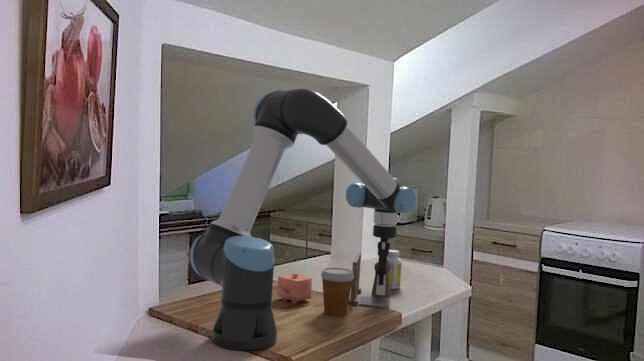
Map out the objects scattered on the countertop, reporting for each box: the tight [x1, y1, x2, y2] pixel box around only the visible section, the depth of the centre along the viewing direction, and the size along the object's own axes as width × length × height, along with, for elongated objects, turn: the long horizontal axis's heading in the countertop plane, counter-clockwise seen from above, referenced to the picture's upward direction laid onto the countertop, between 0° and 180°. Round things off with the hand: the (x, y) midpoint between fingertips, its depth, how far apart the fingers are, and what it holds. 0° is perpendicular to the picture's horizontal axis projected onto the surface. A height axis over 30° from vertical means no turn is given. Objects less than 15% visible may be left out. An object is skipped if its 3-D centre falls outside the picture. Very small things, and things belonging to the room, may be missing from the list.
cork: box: [371, 261, 391, 299], centre depth 171 cm, size 6×6×11 cm
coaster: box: [358, 295, 390, 309], centre depth 162 cm, size 9×9×1 cm
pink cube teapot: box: [276, 272, 313, 305], centre depth 159 cm, size 8×12×8 cm, turn 143°
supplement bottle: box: [387, 249, 403, 290], centre depth 184 cm, size 7×7×13 cm
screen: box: [348, 252, 362, 307], centre depth 166 cm, size 3×18×13 cm, turn 172°
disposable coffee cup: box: [320, 267, 354, 317], centre depth 149 cm, size 10×10×12 cm
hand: (381, 289), depth 171 cm, fingers open, 13 cm apart
